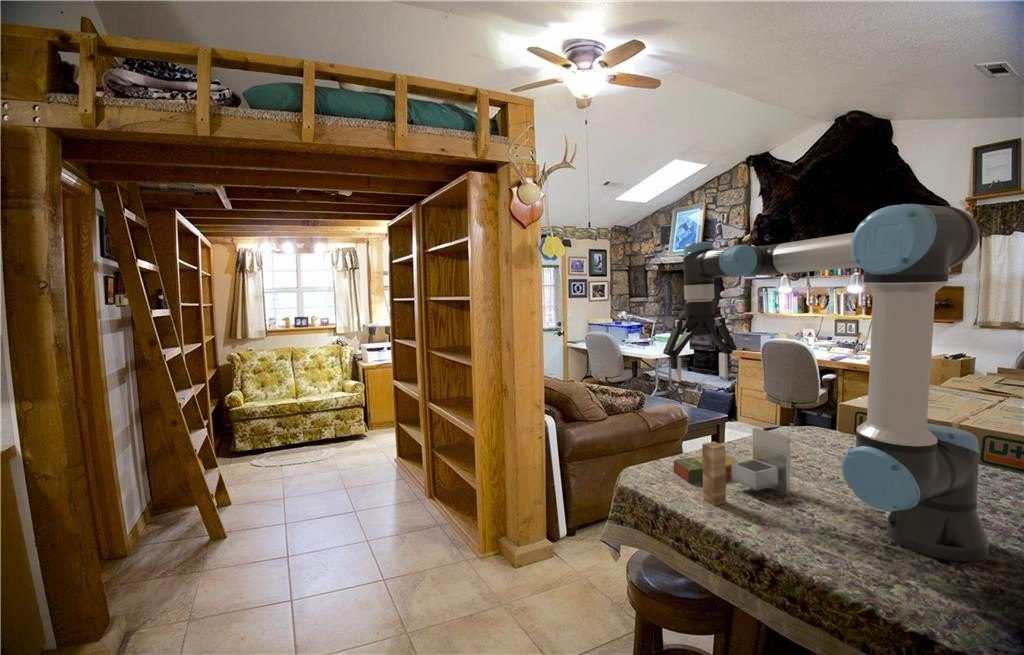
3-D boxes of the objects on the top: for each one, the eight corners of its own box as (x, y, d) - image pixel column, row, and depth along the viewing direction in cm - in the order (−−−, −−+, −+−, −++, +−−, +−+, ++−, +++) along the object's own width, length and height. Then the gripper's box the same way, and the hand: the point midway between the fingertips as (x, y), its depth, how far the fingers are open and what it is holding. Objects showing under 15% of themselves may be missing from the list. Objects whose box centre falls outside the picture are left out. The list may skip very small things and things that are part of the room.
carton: (743, 478, 132) (743, 462, 132) (688, 485, 129) (688, 469, 129) (725, 467, 140) (725, 452, 140) (673, 473, 137) (672, 458, 137)
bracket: (790, 493, 120) (790, 437, 119) (760, 501, 117) (759, 444, 116) (756, 479, 130) (756, 427, 129) (727, 486, 126) (727, 433, 125)
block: (725, 502, 117) (725, 445, 116) (714, 505, 116) (713, 448, 115) (714, 497, 120) (713, 441, 119) (703, 499, 119) (702, 443, 118)
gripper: (732, 298, 137) (733, 373, 139) (649, 302, 133) (651, 380, 134) (750, 298, 130) (750, 377, 131) (662, 303, 125) (664, 384, 127)
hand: (700, 378), depth 133 cm, fingers open, 13 cm apart
